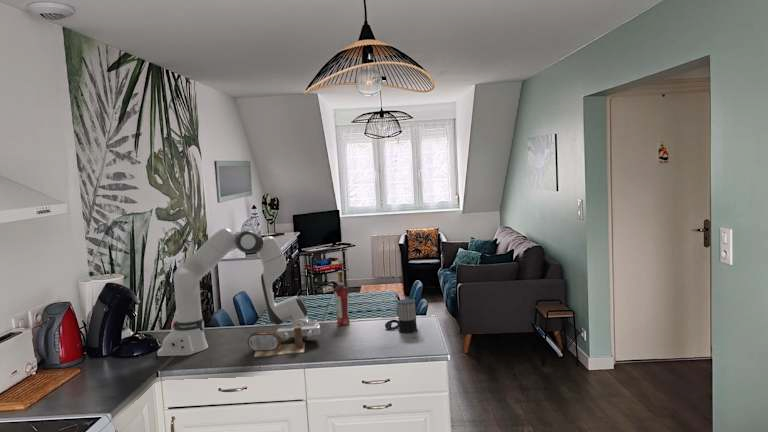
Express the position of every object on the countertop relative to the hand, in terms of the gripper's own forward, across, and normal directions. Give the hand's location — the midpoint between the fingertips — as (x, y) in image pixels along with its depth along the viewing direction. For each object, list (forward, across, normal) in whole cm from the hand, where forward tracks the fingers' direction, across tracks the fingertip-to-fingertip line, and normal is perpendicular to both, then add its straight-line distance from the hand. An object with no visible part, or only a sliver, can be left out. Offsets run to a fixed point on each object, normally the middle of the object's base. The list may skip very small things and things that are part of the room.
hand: (298, 336), depth 261 cm
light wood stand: (-1, -8, +6) cm, 10 cm away
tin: (-1, -15, +6) cm, 16 cm away
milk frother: (-16, +49, +6) cm, 52 cm away
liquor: (-35, +22, +6) cm, 41 cm away
